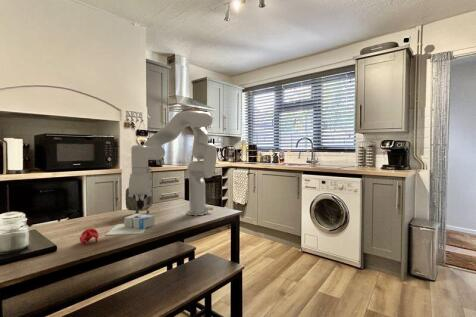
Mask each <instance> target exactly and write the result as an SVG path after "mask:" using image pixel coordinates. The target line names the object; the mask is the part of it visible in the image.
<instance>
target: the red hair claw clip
mask: <svg viewBox="0 0 476 317" xmlns="http://www.w3.org/2000/svg"><path fill="white" fill-rule="evenodd" d="M93 238H94V239H95V242H96V243H98V238H99V233H98V231H97V229H94V228H87V229H85V230H84V231H83V232H82V233H81V236H80V237H79V241H80V243H81V244H82V245H84V246H85V245H87V242H88V241H90V240H92V239H93ZM86 241H87V242H86Z"/></svg>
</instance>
